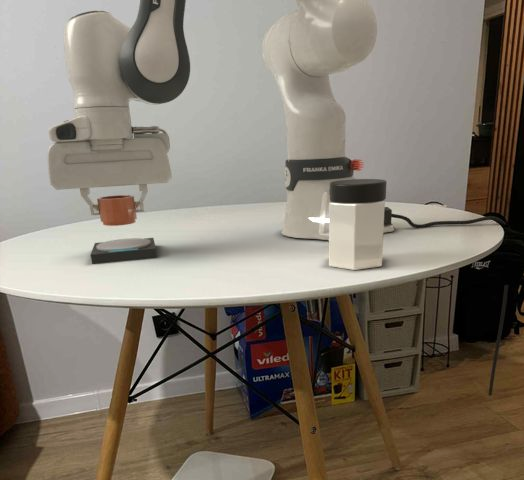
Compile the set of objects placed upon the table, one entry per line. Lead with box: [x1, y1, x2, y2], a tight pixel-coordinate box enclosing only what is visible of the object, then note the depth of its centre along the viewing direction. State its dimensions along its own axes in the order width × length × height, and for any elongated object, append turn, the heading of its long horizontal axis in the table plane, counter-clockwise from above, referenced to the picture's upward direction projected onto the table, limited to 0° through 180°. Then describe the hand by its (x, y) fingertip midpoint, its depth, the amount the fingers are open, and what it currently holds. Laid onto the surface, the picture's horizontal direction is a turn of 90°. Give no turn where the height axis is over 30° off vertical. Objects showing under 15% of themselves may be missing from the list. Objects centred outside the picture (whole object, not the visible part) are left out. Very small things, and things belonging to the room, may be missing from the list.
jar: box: [328, 178, 387, 271], centre depth 75 cm, size 9×8×12 cm
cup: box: [96, 194, 138, 227], centre depth 89 cm, size 6×6×4 cm
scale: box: [90, 237, 158, 265], centre depth 91 cm, size 11×11×2 cm
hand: (117, 213), depth 89 cm, fingers closed on cup, 6 cm apart
